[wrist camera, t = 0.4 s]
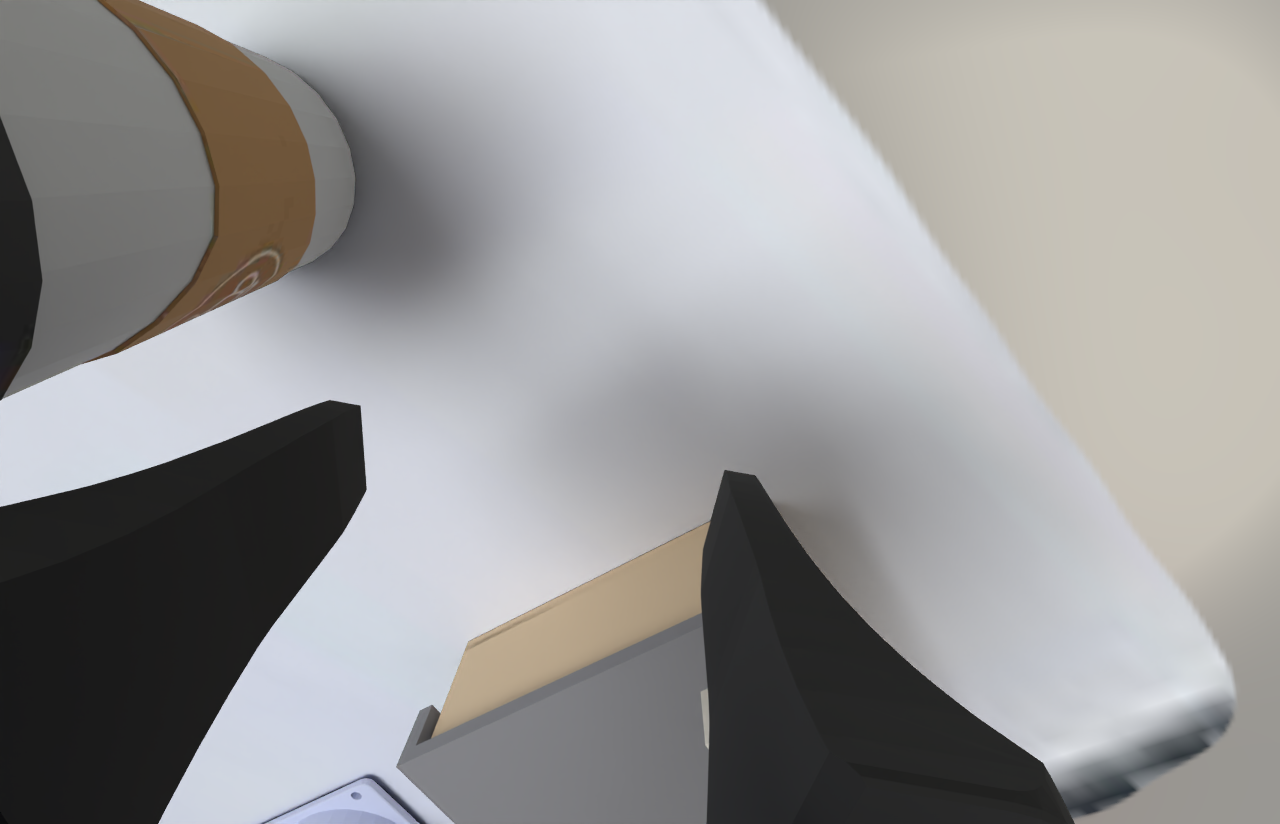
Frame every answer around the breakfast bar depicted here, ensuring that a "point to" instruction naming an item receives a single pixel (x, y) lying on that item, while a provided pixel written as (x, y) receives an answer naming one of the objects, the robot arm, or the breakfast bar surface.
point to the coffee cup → (147, 179)
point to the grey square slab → (581, 744)
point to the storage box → (578, 629)
